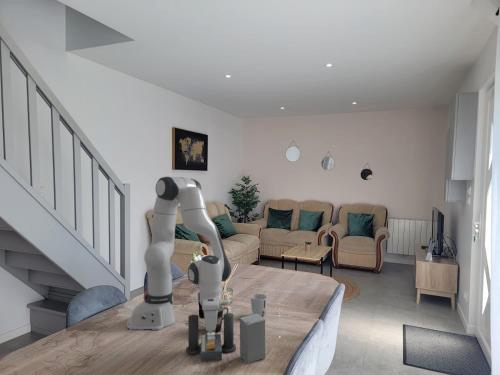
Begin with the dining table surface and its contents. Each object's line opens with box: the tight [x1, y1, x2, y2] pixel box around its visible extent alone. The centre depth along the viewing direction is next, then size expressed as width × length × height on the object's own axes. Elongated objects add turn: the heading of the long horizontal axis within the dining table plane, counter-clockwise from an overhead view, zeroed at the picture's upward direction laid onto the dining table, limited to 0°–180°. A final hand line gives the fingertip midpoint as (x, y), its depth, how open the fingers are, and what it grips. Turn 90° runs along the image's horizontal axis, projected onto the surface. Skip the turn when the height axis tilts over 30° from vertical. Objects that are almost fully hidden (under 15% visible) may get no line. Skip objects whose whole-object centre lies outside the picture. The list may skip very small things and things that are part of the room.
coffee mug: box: [213, 304, 229, 334], centre depth 154 cm, size 12×9×10 cm
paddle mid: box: [207, 336, 215, 343], centre depth 135 cm, size 3×2×2 cm
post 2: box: [221, 312, 237, 354], centre depth 136 cm, size 6×6×14 cm
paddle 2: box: [206, 341, 215, 350], centre depth 131 cm, size 3×2×2 cm
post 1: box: [185, 314, 201, 356], centre depth 135 cm, size 6×6×14 cm
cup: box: [250, 293, 268, 318], centre depth 168 cm, size 8×8×10 cm
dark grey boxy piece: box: [200, 333, 223, 363], centre depth 135 cm, size 8×14×4 cm, turn 7°
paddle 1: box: [206, 331, 216, 337], centre depth 139 cm, size 3×2×2 cm
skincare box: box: [239, 313, 266, 364], centre depth 130 cm, size 8×7×16 cm
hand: (210, 331), depth 134 cm, fingers closed
